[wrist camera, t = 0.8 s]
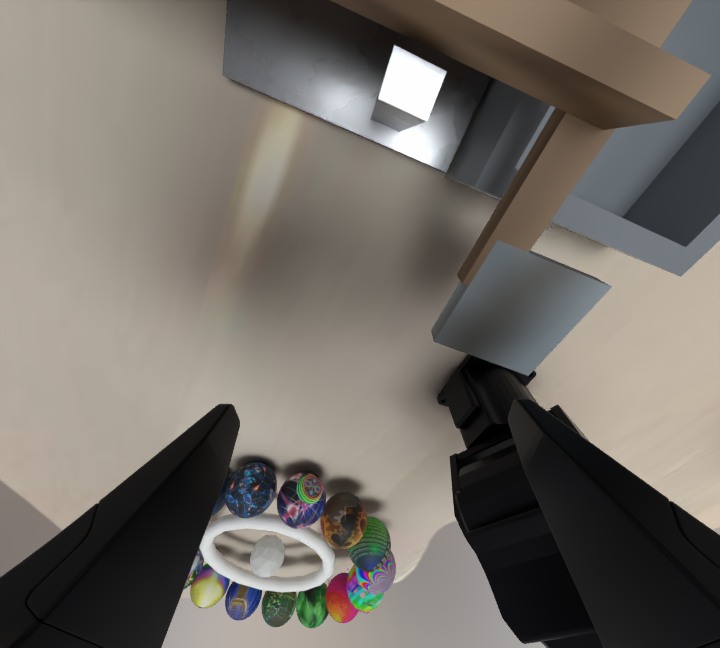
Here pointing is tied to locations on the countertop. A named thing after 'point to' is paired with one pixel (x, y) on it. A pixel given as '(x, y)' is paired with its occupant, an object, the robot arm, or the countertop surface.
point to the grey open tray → (621, 161)
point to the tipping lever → (544, 144)
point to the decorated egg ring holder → (296, 513)
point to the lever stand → (353, 74)
